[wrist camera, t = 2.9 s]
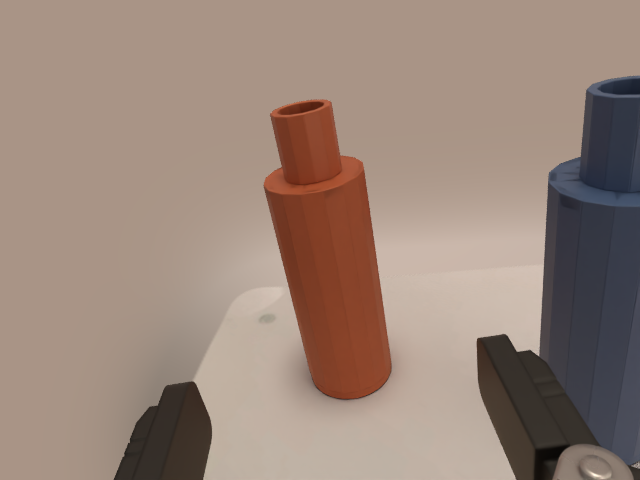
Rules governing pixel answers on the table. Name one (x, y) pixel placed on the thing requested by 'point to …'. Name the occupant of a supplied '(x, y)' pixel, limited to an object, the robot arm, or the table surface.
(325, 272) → the terracotta bottle
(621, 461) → the robot arm
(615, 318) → the blue bottle
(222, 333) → the table surface
